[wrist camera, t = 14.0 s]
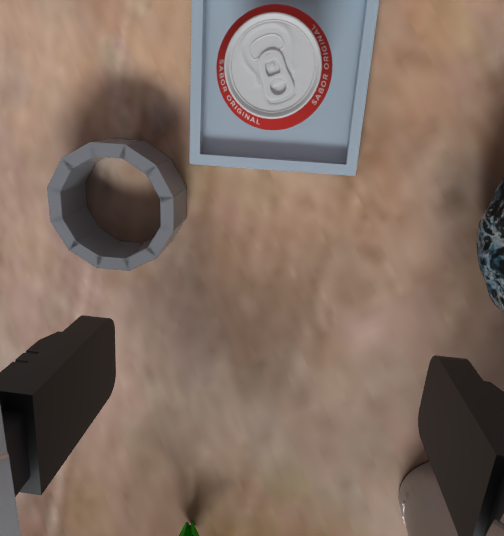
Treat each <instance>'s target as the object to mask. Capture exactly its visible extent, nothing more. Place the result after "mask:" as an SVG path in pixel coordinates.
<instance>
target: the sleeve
mask: <svg viewBox="0 0 504 536" xmlns="http://www.w3.org/2000/svg"><path fill="white" fill-rule="evenodd" d="M105 157H112V158H122V159H124V160H125V161H127V162H129V163H130V164H132V165H133V166H135V167H136V168H138V169H139V170H141V171H142V172H144V173H145V174H147V176H148V178H149V180H150V182H151V183H152V185H153V187H154V189H155V191H156V193H157V194H158V196H159V198H160V210H161V227H160V228H159V230H158V232H157V233H156V235H155V237H154V238H152V239H150V240H148V241H146V242H144V243H138V242H126V241H119V240H118V239H116V238H115V237H113V236H111V235H110V234H108V233H107V232H105V231H104V230H102V229H100V228H99V226H98V224H97V223H96V221H95V219H94V218H93V216H92V215H91V213H90V211H89V210H88V208H87V200H86V184H85V183H86V181H87V179H88V177H89V175H90V173H91V171H92V169H93V167H94V165H95V164H96V162H98V161H99V160H101V159H103V158H105ZM47 191H48V202H49V213H50V221H51V223H52V225H53V226H54V228H55V229H56V231H57V232H58V234H59V236H60V237H61V239H62V240H63V242H64V244H65V245H66V247H67V248H68V250H69V251H71V252H73V253H74V254H76V255H77V256H79V257H81V258H82V259H84V260H85V261H87V262H89V263H90V264H92V265H93V266H95V267H97V268H104V269H115V270H127V271H130V270H132V269H134V268H136V267H138V266H140V265H142V264H144V263H147V262H149V261H151V260H153V259H155V258H157V257H158V256H159V255H160V254H161V253H162V251H163V250H164V249H165V248H166V247H167V246H168V245H169V244H170V243H171V242H172V240H173V238H174V237H175V235H176V234H177V232H178V230H179V229H180V227H181V226H182V224H183V222H184V221H185V219H186V203H187V188H186V185H185V183H184V181H183V180H182V178H181V176H180V174H179V172H178V170H177V168H176V166H175V165H174V163H173V161H172V159H171V158H169V157H168V156H166V155H165V154H164V153H162V152H161V151H159V150H158V149H156V148H155V147H153V146H152V145H150V144H149V143H147V142H146V141H144V140H129V139H115V138H112V139H106V140H100V141H94V142H89V143H88V144H86V145H84V146H82V147H80V148H79V149H77V150H75V151H73V152H72V153H70V154H68V155H66V156H64V157H63V158H61V160H60V162H59V164H58V166H57V168H56V170H55V172H54V174H53V176H52V179H51V181H50V183H49V185H48V187H47Z"/></svg>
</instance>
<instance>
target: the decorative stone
mask: <svg viewBox="0 0 504 536" xmlns="http://www.w3.org/2000/svg"><path fill="white" fill-rule="evenodd" d="M477 254H478V261H479V265H480V270H481V272H482V274H483V276H484V279H485V281H486V284H487V288H488V292H489V295H490V298H491V299H492V301H493V303H494V304H495V305H496V306H497V307H498V308H499V309H501V310H502V311H503V312H504V179H503V180H502V181H501V183H500V184H499V185H498V187H497V188H496V190H495V192H494V195H493V197H492V199H491V201H490V204H489V206H488V208H487V209H486V211H485V213H484V214H483V215H482V218H481V220H480V223H479V225H478V233H477Z"/></svg>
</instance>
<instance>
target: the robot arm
mask: <svg viewBox="0 0 504 536" xmlns="http://www.w3.org/2000/svg"><path fill="white" fill-rule="evenodd" d="M115 376H116V362H115V326H114V322H113V320H112V319H110V318H101V317H92V316H80V317H79V318H78V319H77V320H76V321H74V322H73V323H72V324H71V325H70V326H69V327H67V328H66V329H65V330H64V331H63V332H56V333H54V334H52V335H50V336H47V337H45V338H43V339H40V340H39V341H37V342H36V343H35V344H34V345H33V346H31V347H30V348H29V349H28V350H27V351H26V353H23V354H22V355H21V356H19V357H18V358H17V359H16V361H15V362H12V363H11V364H10V365H8V366H7V367H6V368H5V369H4V370H2V371H1V372H0V536H21V534H20V527H19V520H18V513H17V507H16V500H15V497H16V495H17V494H18V493H19V492H23V493H30V494H37V495H42V493H43V492H44V490H45V489H46V488H47V486H48V485H49V483H50V482H51V480H52V479H53V478H54V476H55V475H56V473H57V472H58V470H59V469H60V468H61V466H62V465H63V463H64V462H65V460H66V459H67V457H68V456H69V455H70V453H71V452H72V450H73V449H74V447H75V446H76V445H77V443H78V442H79V440H80V439H81V437H82V436H83V435H84V433H85V432H86V430H87V429H88V427H89V426H90V425H91V423H92V422H93V420H94V419H95V417H96V416H97V414H98V413H99V412H100V410H101V409H102V407H103V406H104V404H105V403H106V402H107V400H108V399H109V397H110V395H111V393H112V390H113V387H114V383H115ZM418 427H419V434H420V437H421V440H422V443H423V445H424V448H425V451H426V453H427V456H428V458H429V461H430V462H427V463H425V464H422V465H420V466H418V467H417V468H415V469H414V470H412V471H411V472H410V473H409V474H408V475H407V476H406V477H405V479H404V480H403V482H402V484H401V486H400V489H399V502H400V506H401V510H402V516H403V519H404V523H405V525H406V529H407V532H408V536H504V392H503V391H502V390H500V389H499V388H497V387H496V386H495V385H493V384H492V383H491V382H486V381H483V380H482V378H481V377H480V376H479V374H478V373H477V371H476V370H475V369H474V367H473V366H472V364H471V363H470V362H469V361H468V360H467V359H462V358H453V357H444V356H433V357H432V359H431V361H430V364H429V368H428V372H427V377H426V381H425V386H424V391H423V395H422V400H421V404H420V409H419V416H418Z"/></svg>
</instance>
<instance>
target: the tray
mask: <svg viewBox="0 0 504 536" xmlns="http://www.w3.org/2000/svg"><path fill="white" fill-rule="evenodd" d="M269 4H282V5H288V6H292V7H295V8H297V9H299V10H301V11H303V12H305V13H306V14H307V15H309V16H310V17H311V18H312V19H313V20H314V21H315V22H316V23H317V24H318V25H319V26H320V28H321V29H322V31H323V32H324V34H325V36H326V38H327V40H328V43H329V46H330V50H331V54H332V64H333V66H332V77H331V82H330V86H329V89H328V91H327V94H326V96H325V98H324V100H323V101H322V103H321V104H320V106H319V107H318V108H317V110H316V111H315V112H314V113H313V114H312V115H311V116H310V117H308V118H307V119H306V120H304V121H303V122H301V123H300V124H298V125H295V126H293V127H290V128H287V129H282V130H263V129H259V128H256V127H253V126H251V125H249V124H247V123H245V122H244V121H242V120H241V119H240V118H238V117H237V116H236V115H235V114H234V113H233V112H232V111H231V109H230V108H229V107H228V106H227V104H226V102H225V101H224V99H223V97H222V94H221V92H220V89H219V85H218V81H217V70H216V65H217V57H218V52H219V48H220V45H221V43H222V40H223V38H224V36H225V35H226V33H227V31H228V30H229V28H230V27H231V26H232V25H233V23H234V22H235V21H236V20H237V19H238V18H240V17H241V16H242V15H244V14H245V13H247V12H248V11H250V10H252V9H254V8H257V7H260V6H264V5H269ZM378 6H379V0H192V25H191V95H190V164H197V165H211V166H224V167H238V168H252V169H266V170H280V171H294V172H307V173H321V174H335V175H349V176H356V169H357V161H358V154H359V146H360V139H361V132H362V124H363V117H364V109H365V102H366V95H367V87H368V80H369V72H370V65H371V58H372V50H373V43H374V35H375V28H376V21H377V13H378Z"/></svg>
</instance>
